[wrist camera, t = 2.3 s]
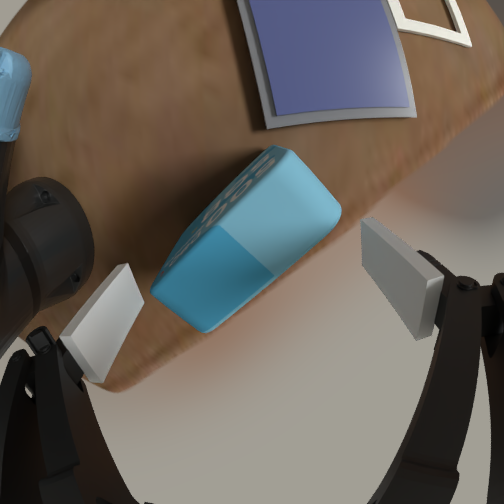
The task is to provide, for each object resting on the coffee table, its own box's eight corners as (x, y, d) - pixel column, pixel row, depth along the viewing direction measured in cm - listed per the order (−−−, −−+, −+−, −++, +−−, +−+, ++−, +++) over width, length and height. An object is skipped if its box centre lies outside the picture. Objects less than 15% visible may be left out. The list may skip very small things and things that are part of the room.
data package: (272, 142, 23) (294, 148, 12) (305, 178, 24) (351, 215, 13) (182, 232, 26) (142, 301, 15) (216, 261, 28) (198, 343, 17)
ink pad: (266, 129, 22) (267, 128, 21) (230, -20, 16) (229, -27, 14) (410, 117, 21) (419, 117, 20) (371, -20, 15) (377, -26, 13)
